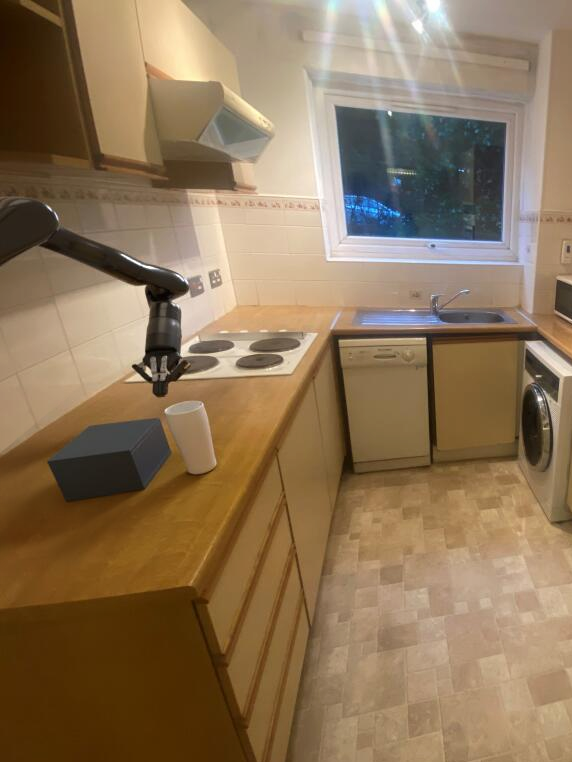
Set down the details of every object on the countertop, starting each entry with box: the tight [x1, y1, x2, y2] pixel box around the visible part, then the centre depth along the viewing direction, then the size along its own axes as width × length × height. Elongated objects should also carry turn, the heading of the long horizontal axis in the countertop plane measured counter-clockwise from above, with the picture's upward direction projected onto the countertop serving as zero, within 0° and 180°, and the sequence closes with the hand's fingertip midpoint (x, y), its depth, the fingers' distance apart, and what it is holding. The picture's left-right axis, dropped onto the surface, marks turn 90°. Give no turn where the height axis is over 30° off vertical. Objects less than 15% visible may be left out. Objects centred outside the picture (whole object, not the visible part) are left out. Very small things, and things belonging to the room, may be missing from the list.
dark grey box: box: [46, 417, 172, 503], centre depth 91 cm, size 15×13×9 cm
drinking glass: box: [163, 400, 218, 475], centre depth 92 cm, size 7×7×15 cm
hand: (160, 396), depth 112 cm, fingers closed
